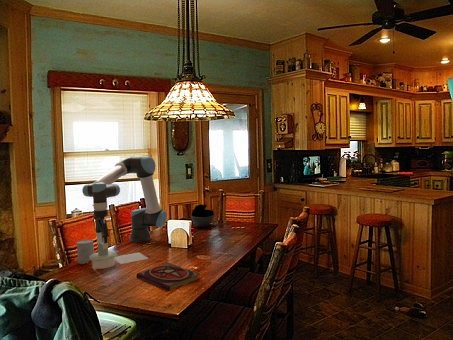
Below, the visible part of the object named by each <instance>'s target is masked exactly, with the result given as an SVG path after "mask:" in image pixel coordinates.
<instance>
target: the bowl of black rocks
mask: <svg viewBox="0 0 453 340" xmlns="http://www.w3.org/2000/svg"><path fill="white" fill-rule="evenodd" d="M207 207H208V205H207V204H197V205H196V206H195V207H194V209H193V210H192V212H191V216H190V218H191V221H192V222H193V224H194V225H195V226H197V227H201V228H206V227H208V226H210V225H212V223H213V222H214V220H215V216H216V215H215V212H214V210H213V209H206V208H207Z"/></svg>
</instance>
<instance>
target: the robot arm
mask: <svg viewBox="0 0 453 340" xmlns="http://www.w3.org/2000/svg"><path fill="white" fill-rule="evenodd" d="M156 166H157V165H156V162H155V160H154V158H153V157H151V156H149V155H148V156H146V155H143V156H140V155H139V156H129V157H126V158H124V159H121V160H120V161H119V162H117V163H116V164H115V165H114V167H113V168H112V169H110V170H108V172H106V173H105V174H104V175H102V176H100V177H99V178H97V179H96V180H95V181H93V182H92V183H91V184H90V183H88V184H84V185H83V187H82V194H83V196H84V197H87V198H88V197H89V198H92V199H93V201H92V202H93V203H92V207H93V217H94V218H95V232H96V244H97V243H102V242H103V249H107V248H108V249H109V236H110V234H109V229H108V225H107V224H108V223H107V219H106V217H107V216H108V214H109V213H108V198H113V197H114V198H115V197H116V196H119V194H120V193H121V188H120V186H119V185H118V184H117V183H115V182H116V181H117V180H119V179H120V178H121V177H124V176H126V175H129V174H136V177H137V178H138V179H139V180H140V184H141V189H142V193H143V196H144V201H145V205H146V207H143V208H138V209H137V208H136V209H133V210H131V212H130V218H131V231H130V232H131V233H130V236H129V242H131V243H142V242H147V241H148V242H149V241H150V240H152V239H151V238H152V237H151V236H152V235H151V233H150V230H149V227H151V228H152V227H153V228H154V227H156V228H160V227H164V225H165V224H166V221H167V217H168V216H167V212H166V211H165V210H163V208H162V206H160V205H159V200H158V196H157V191H156V188H155V183H154V178H153V176H154V174H155V171H156Z"/></svg>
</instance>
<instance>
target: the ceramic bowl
mask: <svg viewBox="0 0 453 340" xmlns="http://www.w3.org/2000/svg"><path fill="white" fill-rule="evenodd" d="M115 263H116V260H115V257H114V258H112V259H108V260H101V261H94V260H92V261H91V267H92V269H93V270H94V271H96V270H97V269H98V270H101V269H107V268H111V267H113V266H114V265H116V264H115Z"/></svg>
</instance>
